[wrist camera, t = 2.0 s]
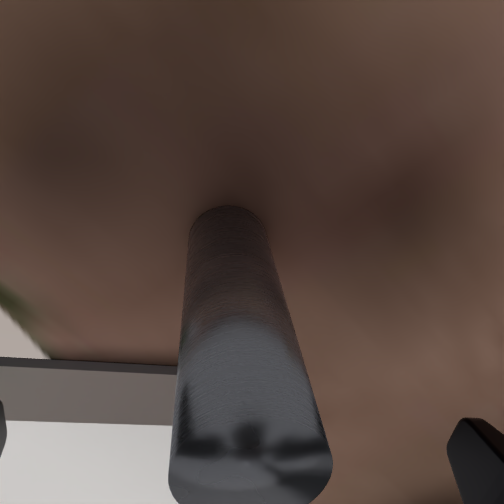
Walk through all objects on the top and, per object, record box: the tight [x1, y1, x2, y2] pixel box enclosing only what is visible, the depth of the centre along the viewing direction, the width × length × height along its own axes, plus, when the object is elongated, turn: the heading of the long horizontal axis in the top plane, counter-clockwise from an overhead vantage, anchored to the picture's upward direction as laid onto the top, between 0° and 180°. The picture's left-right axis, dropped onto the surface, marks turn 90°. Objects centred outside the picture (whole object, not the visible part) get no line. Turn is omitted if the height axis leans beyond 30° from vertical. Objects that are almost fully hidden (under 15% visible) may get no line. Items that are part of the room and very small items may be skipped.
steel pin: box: [168, 206, 333, 504], centre depth 11 cm, size 3×3×9 cm
